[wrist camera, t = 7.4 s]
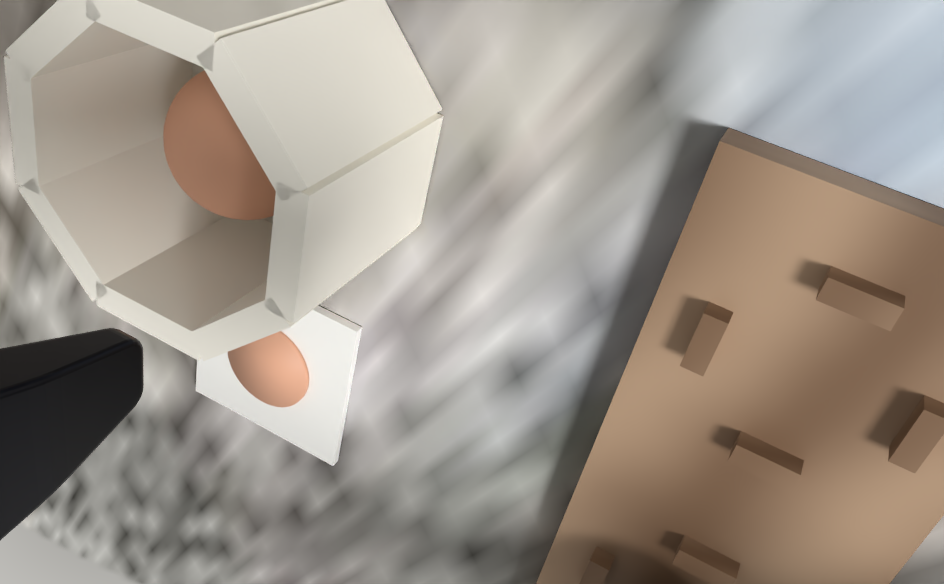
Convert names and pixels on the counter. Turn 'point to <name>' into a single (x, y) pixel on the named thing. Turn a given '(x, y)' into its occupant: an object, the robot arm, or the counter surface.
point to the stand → (774, 391)
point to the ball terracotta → (214, 155)
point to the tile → (291, 381)
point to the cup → (264, 128)
